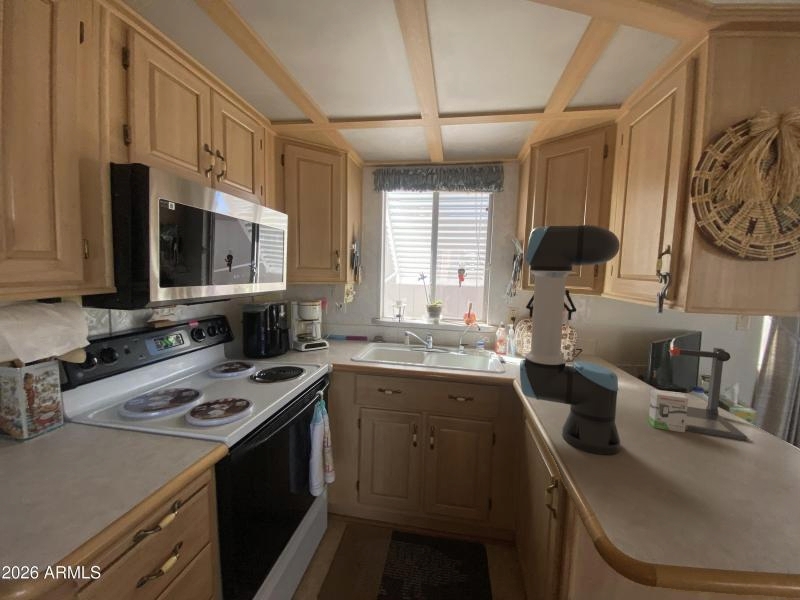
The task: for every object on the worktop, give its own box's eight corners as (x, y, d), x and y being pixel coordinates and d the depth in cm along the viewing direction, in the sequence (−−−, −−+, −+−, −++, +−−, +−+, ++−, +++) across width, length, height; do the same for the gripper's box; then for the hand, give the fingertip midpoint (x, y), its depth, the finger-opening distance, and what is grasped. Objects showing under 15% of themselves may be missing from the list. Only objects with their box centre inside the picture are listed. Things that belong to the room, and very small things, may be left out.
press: (746, 441, 99) (755, 362, 97) (687, 430, 105) (694, 356, 103) (712, 414, 119) (720, 347, 116) (664, 406, 124) (670, 343, 122)
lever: (730, 362, 111) (731, 352, 111) (670, 356, 118) (671, 346, 117) (725, 360, 114) (726, 350, 114) (667, 354, 121) (668, 345, 120)
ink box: (653, 428, 107) (657, 394, 106) (647, 421, 111) (650, 389, 110) (685, 433, 104) (689, 397, 103) (677, 426, 108) (681, 392, 107)
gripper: (584, 279, 139) (580, 327, 141) (523, 277, 150) (520, 322, 152) (585, 279, 132) (581, 329, 134) (521, 277, 144) (518, 324, 145)
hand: (549, 326), depth 143 cm, fingers open, 13 cm apart
